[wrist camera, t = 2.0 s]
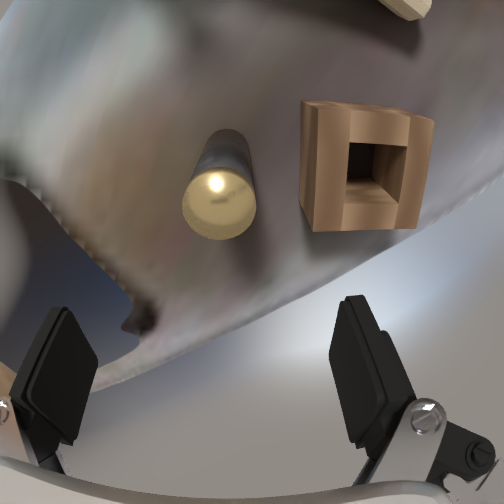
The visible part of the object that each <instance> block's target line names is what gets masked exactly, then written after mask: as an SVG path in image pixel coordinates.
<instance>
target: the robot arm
mask: <svg viewBox="0 0 504 504" xmlns="http://www.w3.org/2000/svg"><path fill="white" fill-rule="evenodd" d="M329 361H330V365H331V369H332V373H333V377H334V380H335V384H336V388H337V392H338V396H339V400H340V404H341V408H342V412H343V416H344V420H345V424H346V428H347V432H348V437H349V440H350V442H351V443H355V445H356V449H359V448H364V447H365V449H366V453H367V456H368V457H369V458H368V460H367V461H366V463H365V465H364V467H363V468H362V470H361V472H360V473H359V475H358V477H357V478H356V480H355V482H354V483H353V485H352V486H351V487H345V488H339V489H333V490H327V491H321V492H315V493H307V494H299V495H289V496H279V497H266V498H245V499H208V498H188V497H176V496H165V495H157V494H150V493H142V492H136V491H130V490H125V489H119V488H114V487H109V486H105V485H100V484H96V483H92V482H88V481H84V480H80V479H76V478H73V477H72V475H71V473H70V471H69V469H68V467H67V465H66V463H65V461H64V459H63V457H62V454H61V452H60V450H59V447H58V446H59V442H61V443H62V444H66V445H70V446H73V441H74V440H75V439H76V438H77V436H78V433H79V429H80V425H81V421H82V417H83V413H84V410H85V406H86V403H87V399H88V396H89V393H90V389H91V386H92V383H93V379H94V376H95V373H96V370H97V367H98V359H97V356H96V355H95V353H94V351H93V350H92V348H91V346H90V344H89V343H88V341H87V339H86V337H85V335H84V334H83V332H82V330H81V328H80V326H79V324H78V323H77V321H76V319H75V317H74V315H73V313H72V312H71V311H69V309H68V308H67V307H52V308H51V309H50V310H49V312H48V314H47V316H46V318H45V319H44V321H43V323H42V325H41V327H40V329H39V331H38V333H37V334H36V336H35V339H34V340H33V342H32V344H31V346H30V348H29V350H28V352H27V354H26V357H25V359H24V361H23V363H22V365H21V367H20V369H19V372H18V374H17V376H16V378H15V381H14V383H13V385H12V388H11V390H10V392H9V395H10V396H11V400H9V399H8V398H6V397H1V396H0V504H452V501H451V499H450V498H449V496H448V495H447V493H450V492H451V493H452V494H453V495H454V496H455V497H456V498H457V502H458V503H459V504H504V460H503V459H501V458H500V459H496V458H495V457H496V455H495V449H494V447H493V444H492V443H491V442H490V441H489V440H487V439H486V438H484V437H482V436H480V435H477V434H475V433H473V432H471V431H468V430H466V429H464V428H462V427H460V426H457V425H455V424H453V423H451V422H449V421H447V417H446V413H445V411H444V408H443V407H442V406H441V405H440V404H439V403H438V402H436V401H434V400H432V399H428V398H420V399H417V398H416V395H415V393H414V390H413V388H412V386H411V383H410V381H409V379H408V376H407V374H406V371H405V369H404V367H403V365H402V362H401V360H400V358H399V356H398V353H397V351H396V348H395V346H394V344H393V342H392V340H391V337H390V336H389V334H388V333H387V332H386V331H384V330H383V331H380V329H379V326H378V324H377V322H376V320H375V318H374V315H373V313H372V311H371V309H370V307H369V305H368V303H367V301H366V299H365V297H364V296H363V295H355V296H346V298H345V301H341V302H340V304H339V309H338V314H337V319H336V323H335V328H334V332H333V337H332V341H331V345H330V350H329Z"/></svg>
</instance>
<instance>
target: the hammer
mask: <svg viewBox="0 0 504 504" xmlns="http://www.w3.org/2000/svg"><path fill="white" fill-rule="evenodd" d="M378 1H379V2H381V3H382V4H383V5H385V6H386V7H387V8H388V9H390V10H391V11H392V12H394V13H395V14H396V15H397V16H399V17H401V18H404V19H406V20H408V21H412V20H416V19H420V18H424V17H425V16H426V14H427V12H428V11H429V9H430V7H431V4H432V0H378Z"/></svg>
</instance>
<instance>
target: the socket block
mask: <svg viewBox="0 0 504 504" xmlns="http://www.w3.org/2000/svg"><path fill="white" fill-rule="evenodd" d="M433 130H434V121H433V120H431V119H428V118H425V117H423V116H420V115H417V114H414V113H411V112H408V111H405V110H402V109H399V108H392V107H384V106H375V105H366V104H355V103H343V102H327V101H301V147H300V186H299V202H300V204H301V206H302V208H303V211H304V213H305V215H306V218H307V220H308V222H309V225H310V227H311V229H312V232H323V231H350V230H380V229H415V228H416V226H417V222H418V217H419V213H420V208H421V204H422V199H423V194H424V189H425V183H426V178H427V172H428V166H429V160H430V153H431V146H432V138H433ZM349 142H355V143H373V144H375V146H374V157H373V166H372V175H371V178H360V177H347V167H348V155H349Z"/></svg>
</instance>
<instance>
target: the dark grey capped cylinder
mask: <svg viewBox="0 0 504 504" xmlns="http://www.w3.org/2000/svg"><path fill="white" fill-rule="evenodd" d="M182 209H183V214H184V217H185V219H186V221H187V223H188V224H189V226H190V227H191V228H192V229H193V230H194V231H195V232H197V233H198V234H200V235H202V236H204V237H207V238H210V239H216V240H223V239H229V238H233V237H236V236H238V235H240V234H241V233H243V232H244V231H245V230H246V229H247V228H248V227H249V226H250V224H251V223H252V221H253V219H254V217H255V213H256V199H255V192H254V184H253V177H252V170H251V162H250V155H249V148H248V143H247V141H246V139H245V138H244V136H243V135H242V134H240V133H239V132H237V131H235V130H231V129H223V130H219V131H217V132H215V133H214V134H212V135H211V136H210V138H209V139H208V141H207V143H206V145H205V147H204V149H203V152H202V154H201V156H200V159H199V161H198V163H197V165H196V168H195V170H194V173H193V175H192V177H191V180H190V182H189V185H188V187H187V189H186V192H185V195H184V197H183V203H182Z"/></svg>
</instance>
